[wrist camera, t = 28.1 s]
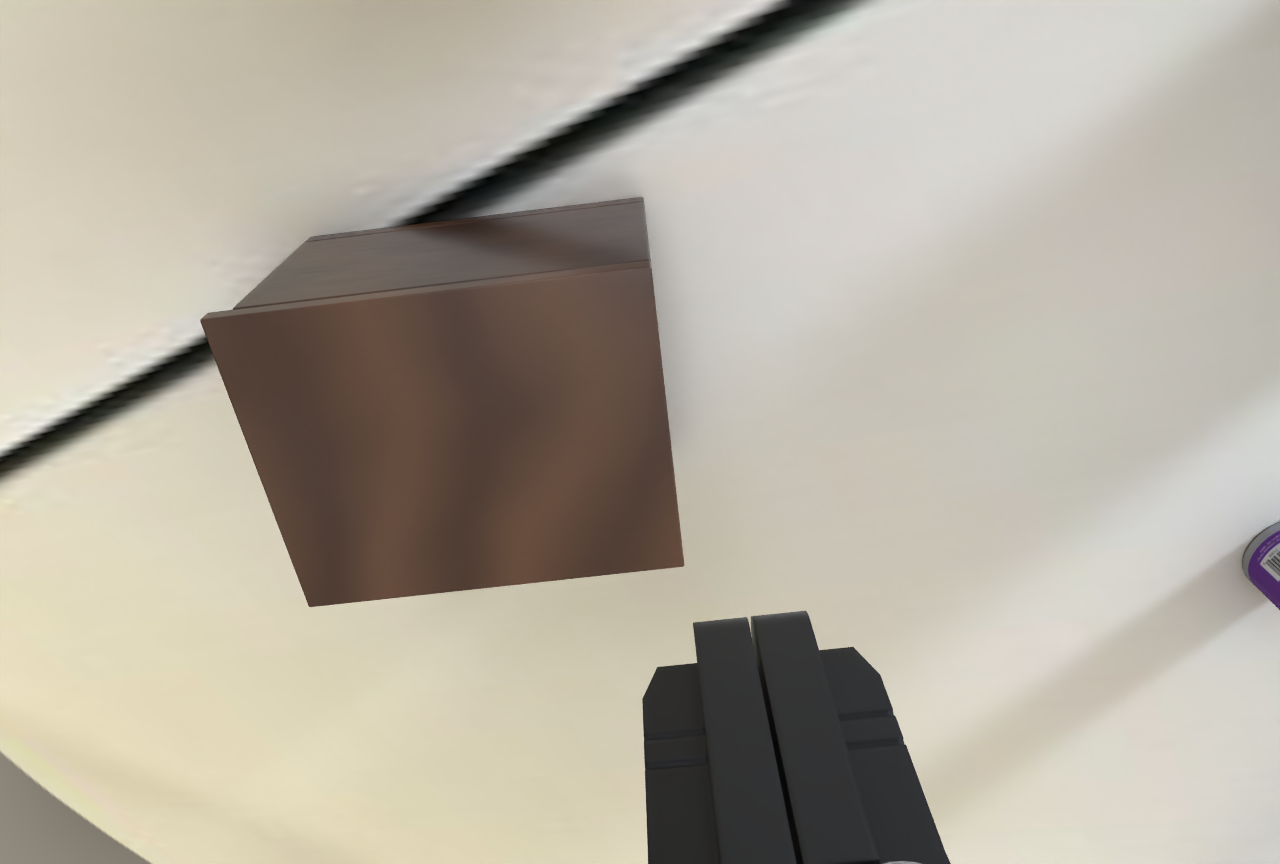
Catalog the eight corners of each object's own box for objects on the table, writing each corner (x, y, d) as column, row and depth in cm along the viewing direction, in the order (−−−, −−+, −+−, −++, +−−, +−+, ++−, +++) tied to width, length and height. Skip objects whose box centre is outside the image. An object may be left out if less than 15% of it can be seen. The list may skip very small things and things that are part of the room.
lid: (313, 596, 36) (308, 607, 35) (207, 312, 30) (199, 319, 29) (683, 556, 36) (684, 567, 35) (650, 259, 30) (651, 266, 29)
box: (383, 480, 44) (333, 592, 36) (309, 236, 38) (231, 308, 30) (671, 449, 43) (683, 556, 36) (643, 196, 37) (650, 259, 30)
